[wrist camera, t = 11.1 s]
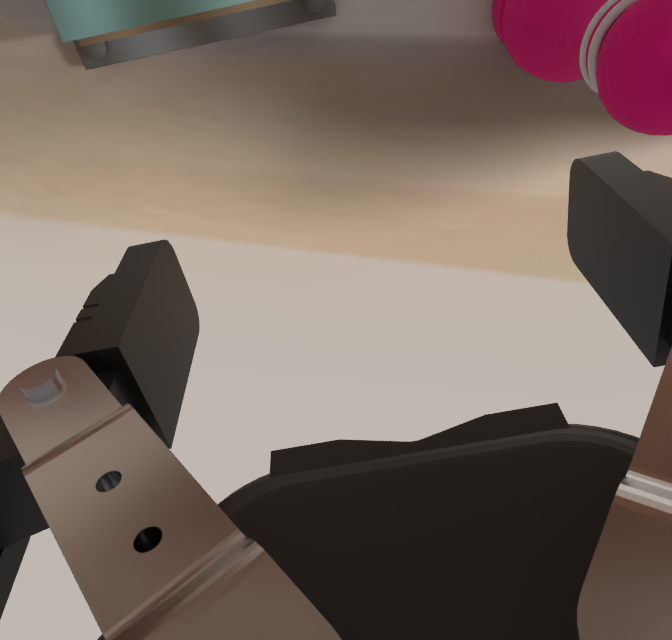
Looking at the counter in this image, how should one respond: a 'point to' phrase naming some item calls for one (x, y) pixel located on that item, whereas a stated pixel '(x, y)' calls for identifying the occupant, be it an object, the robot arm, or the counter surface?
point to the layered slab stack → (169, 24)
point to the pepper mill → (598, 52)
